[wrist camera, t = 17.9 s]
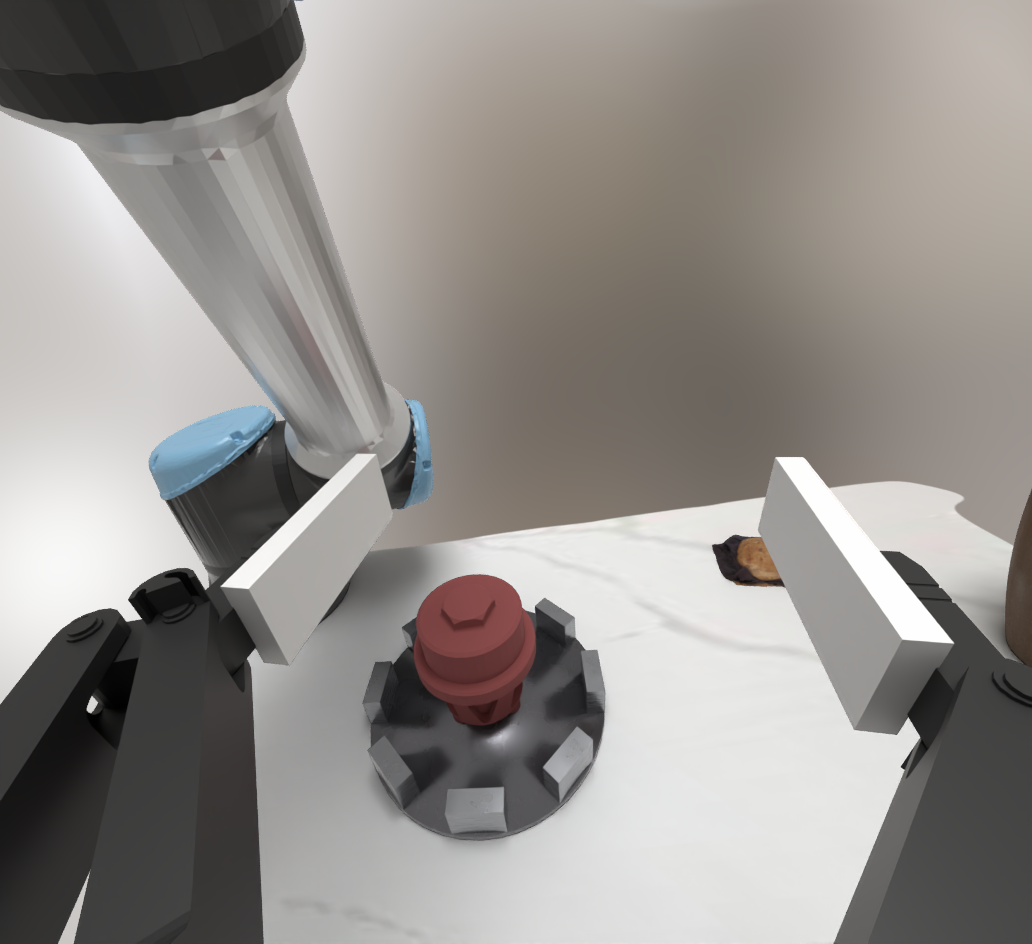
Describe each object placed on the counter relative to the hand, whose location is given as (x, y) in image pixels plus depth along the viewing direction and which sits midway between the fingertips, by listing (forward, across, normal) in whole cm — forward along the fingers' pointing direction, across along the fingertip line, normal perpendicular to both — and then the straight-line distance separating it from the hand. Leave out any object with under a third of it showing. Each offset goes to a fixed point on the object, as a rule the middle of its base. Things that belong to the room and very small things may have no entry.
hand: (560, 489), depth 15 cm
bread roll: (+31, +21, -31) cm, 49 cm away
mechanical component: (+10, -9, -30) cm, 32 cm away
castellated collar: (+10, -8, -30) cm, 33 cm away
